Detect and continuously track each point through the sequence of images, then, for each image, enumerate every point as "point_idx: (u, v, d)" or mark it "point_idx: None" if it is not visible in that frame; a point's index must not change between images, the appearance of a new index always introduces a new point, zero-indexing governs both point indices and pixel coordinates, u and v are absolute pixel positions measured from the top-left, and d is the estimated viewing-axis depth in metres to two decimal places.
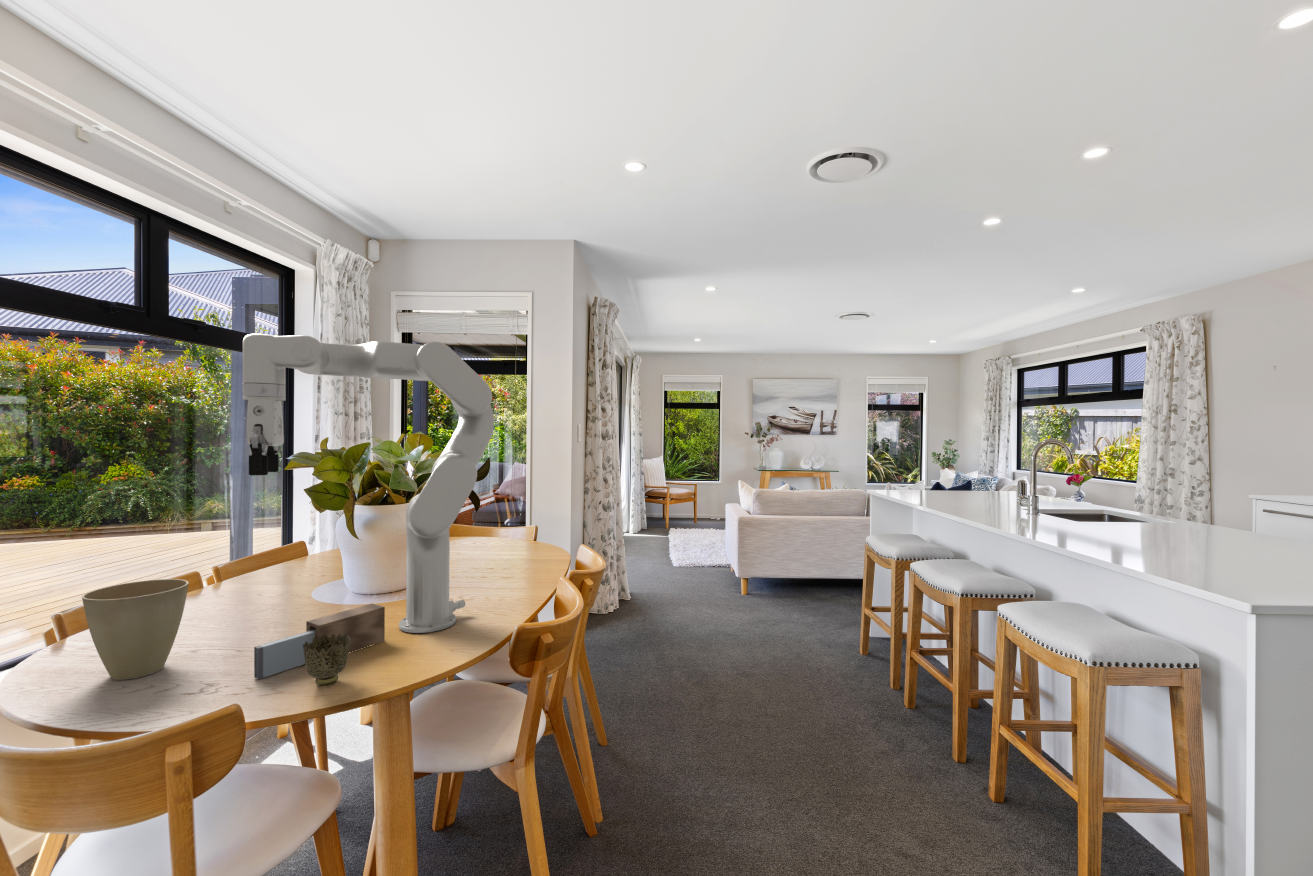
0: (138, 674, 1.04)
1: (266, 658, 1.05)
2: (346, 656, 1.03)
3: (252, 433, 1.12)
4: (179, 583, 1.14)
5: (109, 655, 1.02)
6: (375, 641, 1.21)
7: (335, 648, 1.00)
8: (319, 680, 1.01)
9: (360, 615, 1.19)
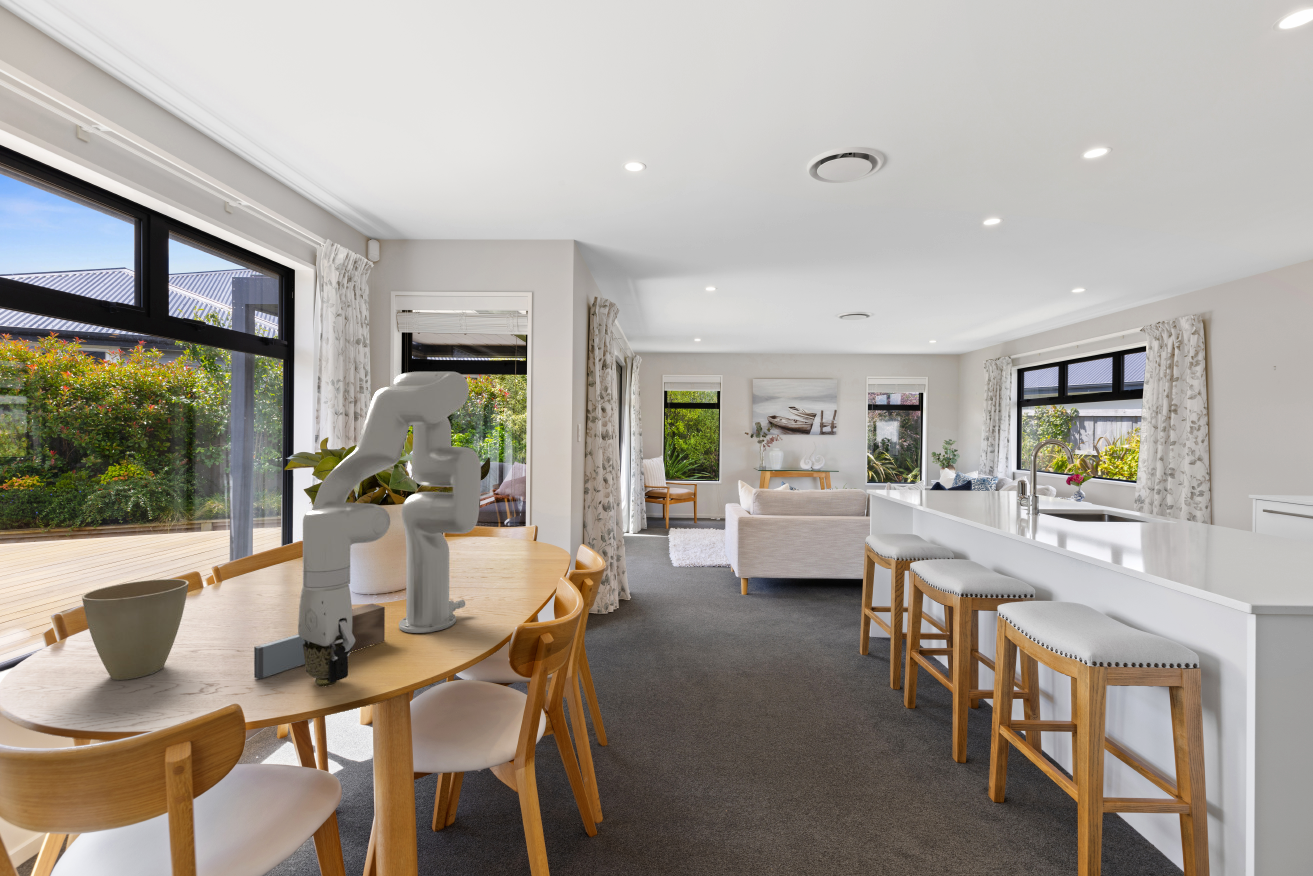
0: (138, 674, 1.04)
1: (266, 658, 1.05)
2: None
3: None
4: (179, 583, 1.14)
5: (109, 655, 1.02)
6: (375, 641, 1.21)
7: None
8: (319, 680, 1.01)
9: (360, 615, 1.19)
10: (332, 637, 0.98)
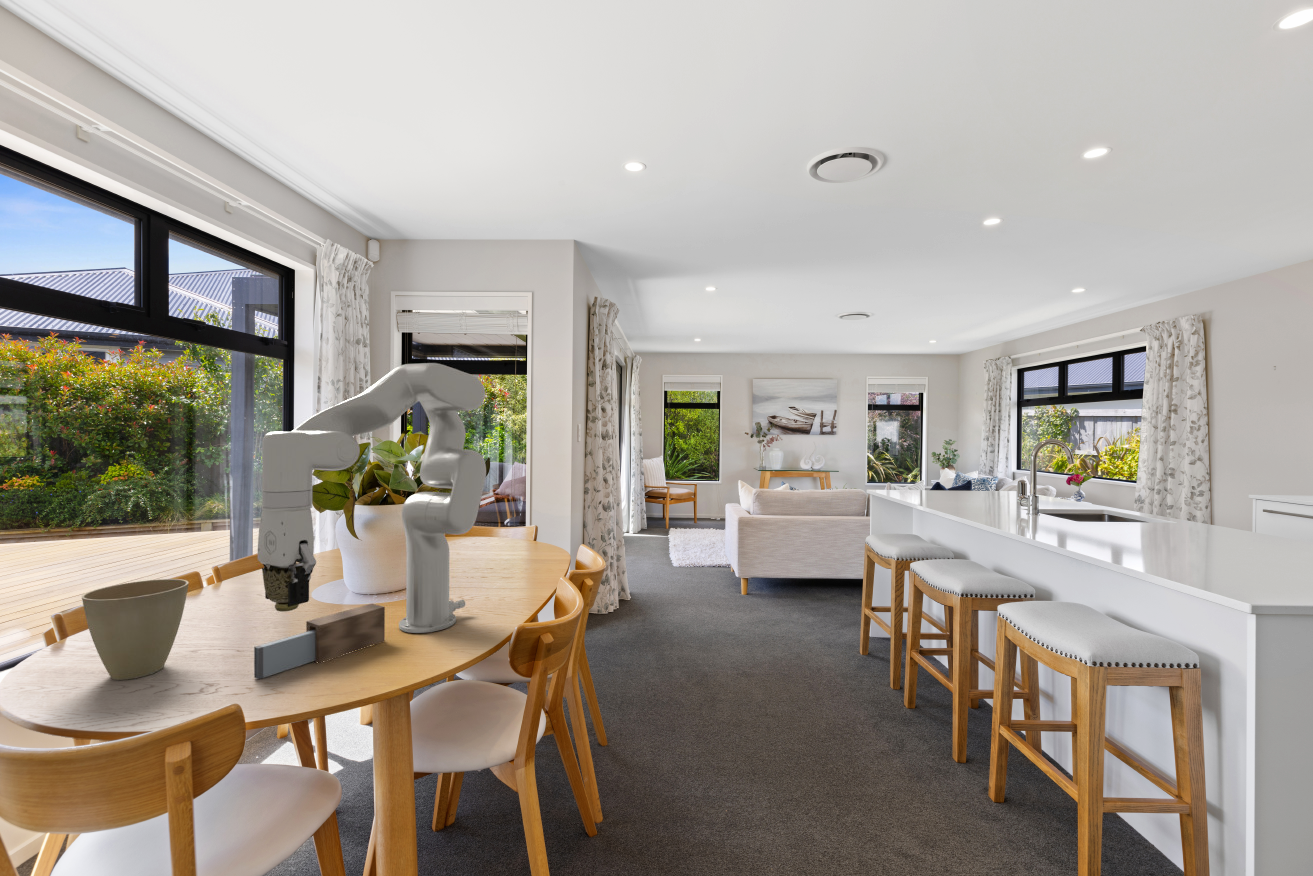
0: (138, 674, 1.04)
1: (266, 658, 1.05)
2: None
3: None
4: (179, 583, 1.14)
5: (109, 655, 1.02)
6: (375, 641, 1.21)
7: None
8: (279, 604, 0.99)
9: (360, 615, 1.19)
10: (292, 558, 0.96)
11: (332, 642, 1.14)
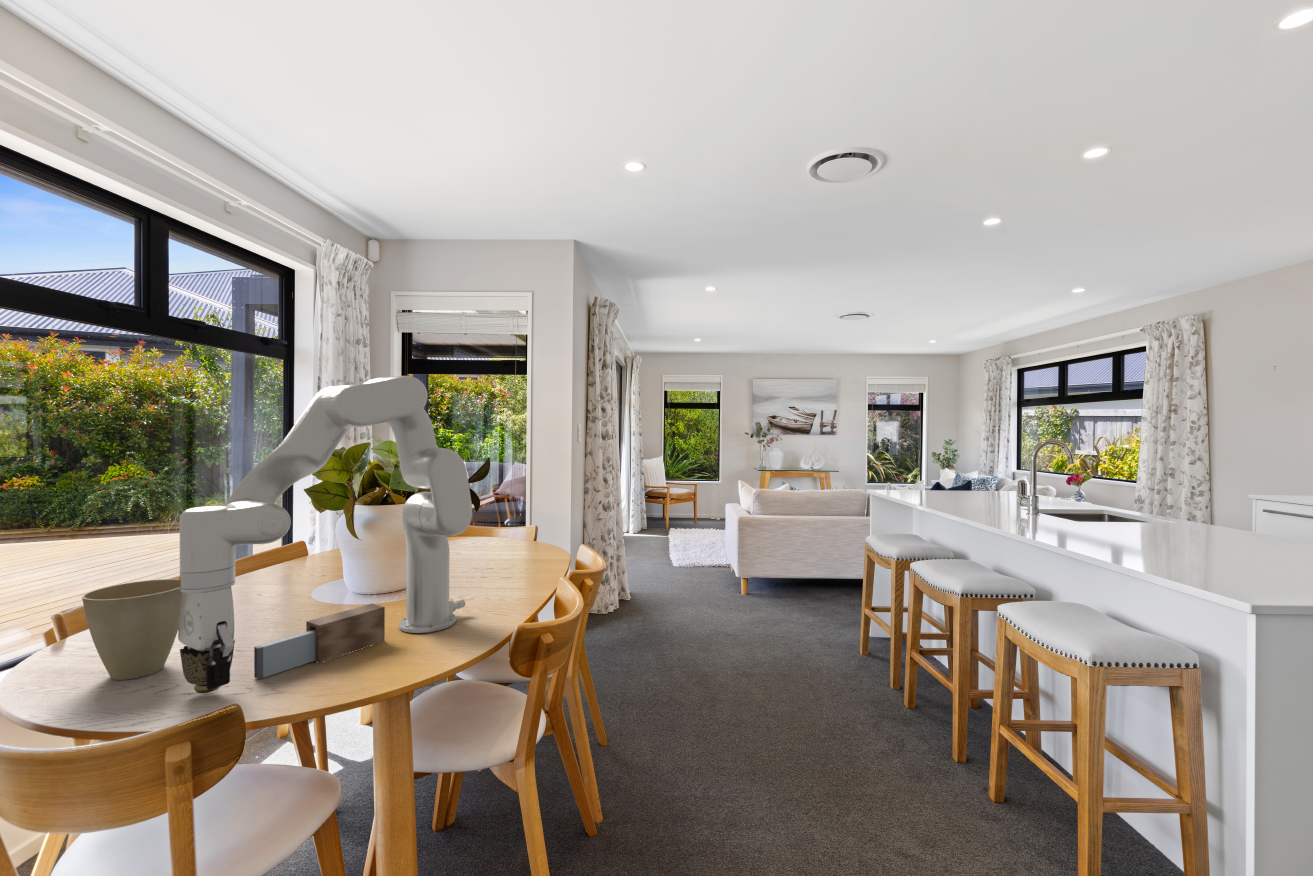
0: (138, 674, 1.04)
1: (266, 658, 1.05)
2: None
3: None
4: (179, 583, 1.14)
5: (109, 655, 1.02)
6: (375, 641, 1.21)
7: None
8: (198, 687, 0.96)
9: (360, 615, 1.19)
10: (208, 641, 0.93)
11: (332, 642, 1.14)
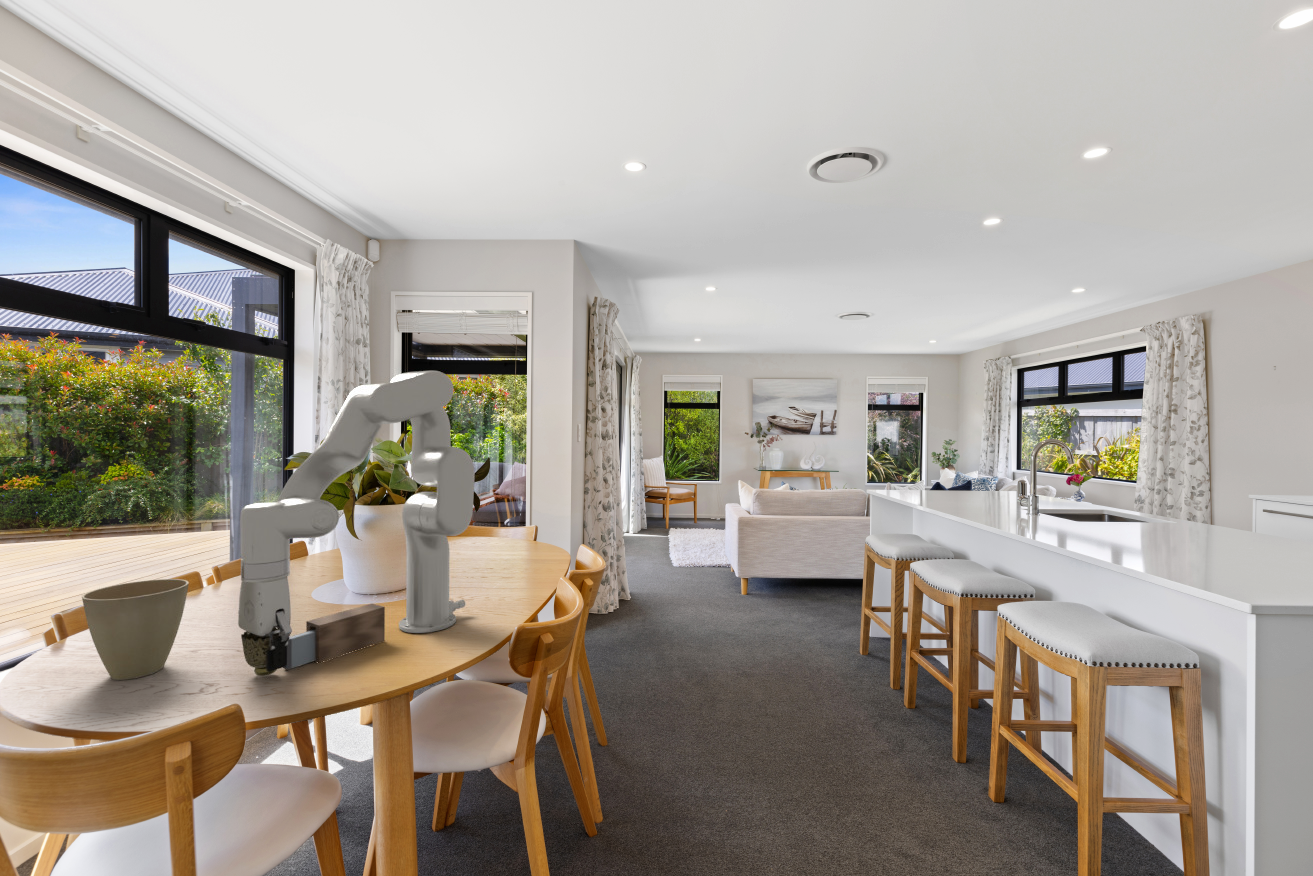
0: (138, 674, 1.04)
1: (294, 649, 1.09)
2: None
3: None
4: (179, 583, 1.14)
5: (109, 655, 1.02)
6: (375, 641, 1.21)
7: None
8: (257, 669, 1.04)
9: (360, 615, 1.19)
10: (269, 627, 1.01)
11: (332, 642, 1.14)
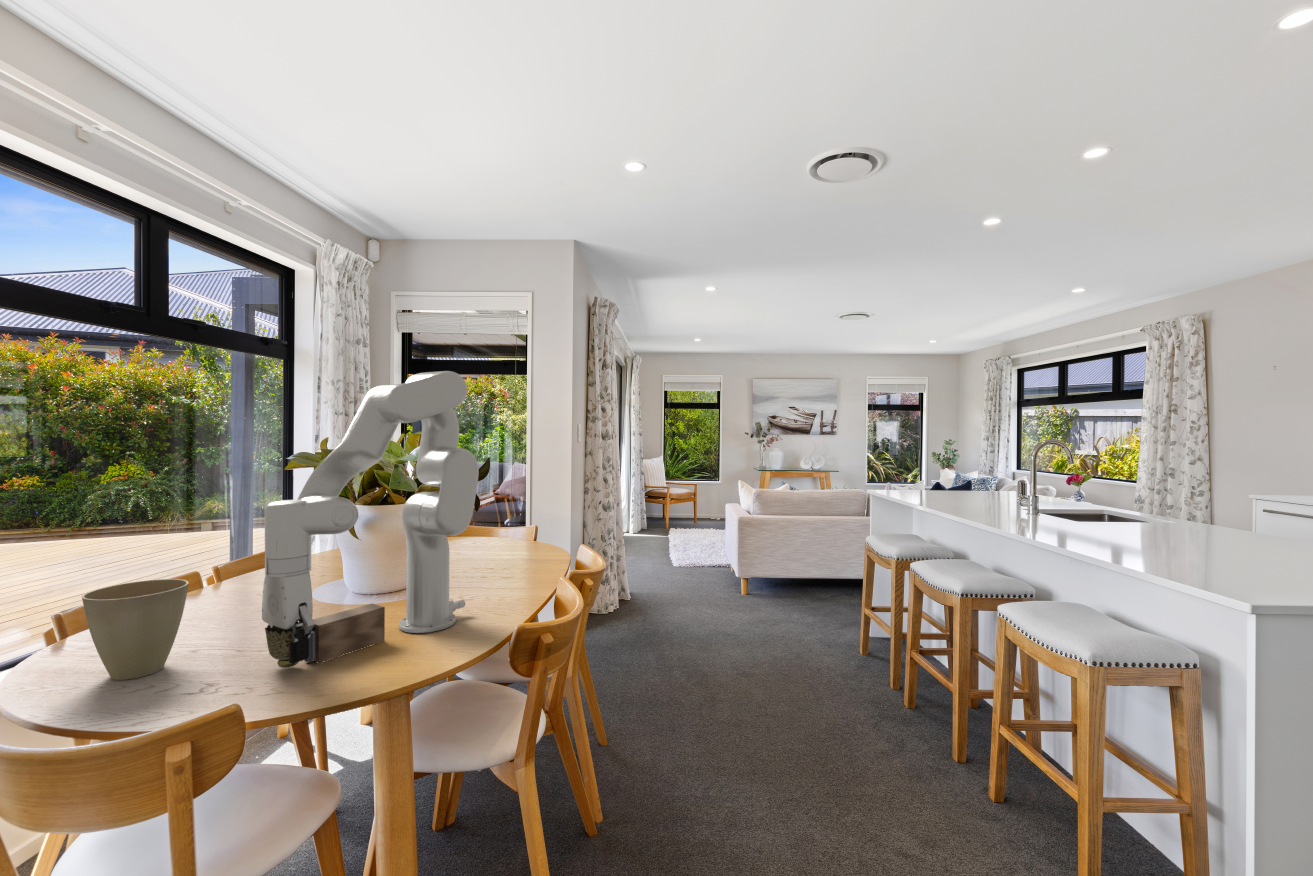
0: (138, 674, 1.04)
1: (315, 643, 1.12)
2: None
3: None
4: (179, 583, 1.14)
5: (109, 655, 1.02)
6: (375, 641, 1.21)
7: None
8: (281, 661, 1.07)
9: (360, 615, 1.19)
10: (292, 620, 1.04)
11: (332, 642, 1.14)
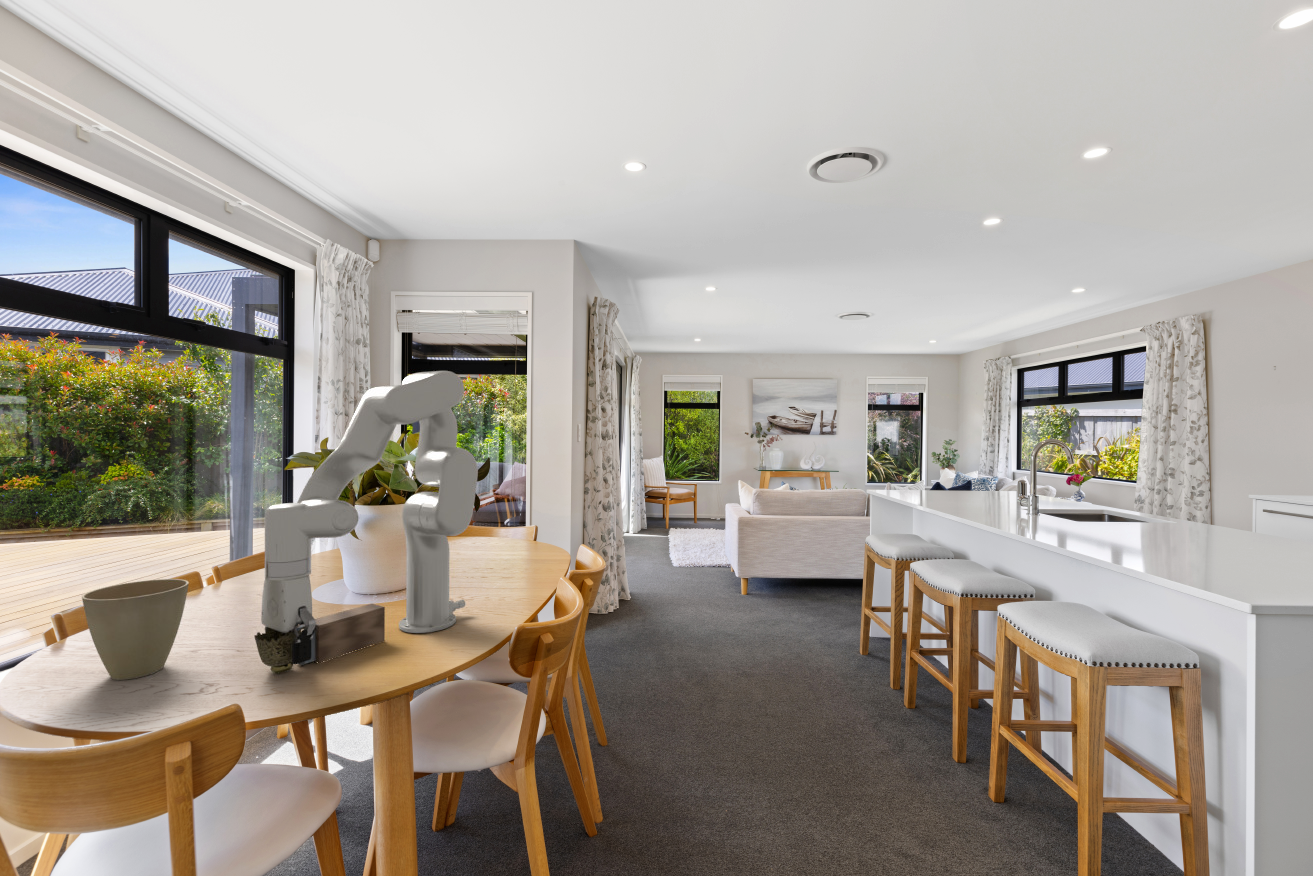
0: (138, 674, 1.04)
1: None
2: None
3: None
4: (179, 583, 1.14)
5: (109, 655, 1.02)
6: (375, 641, 1.21)
7: (285, 638, 1.05)
8: (273, 668, 1.06)
9: (360, 615, 1.19)
10: (292, 624, 1.04)
11: (332, 642, 1.14)
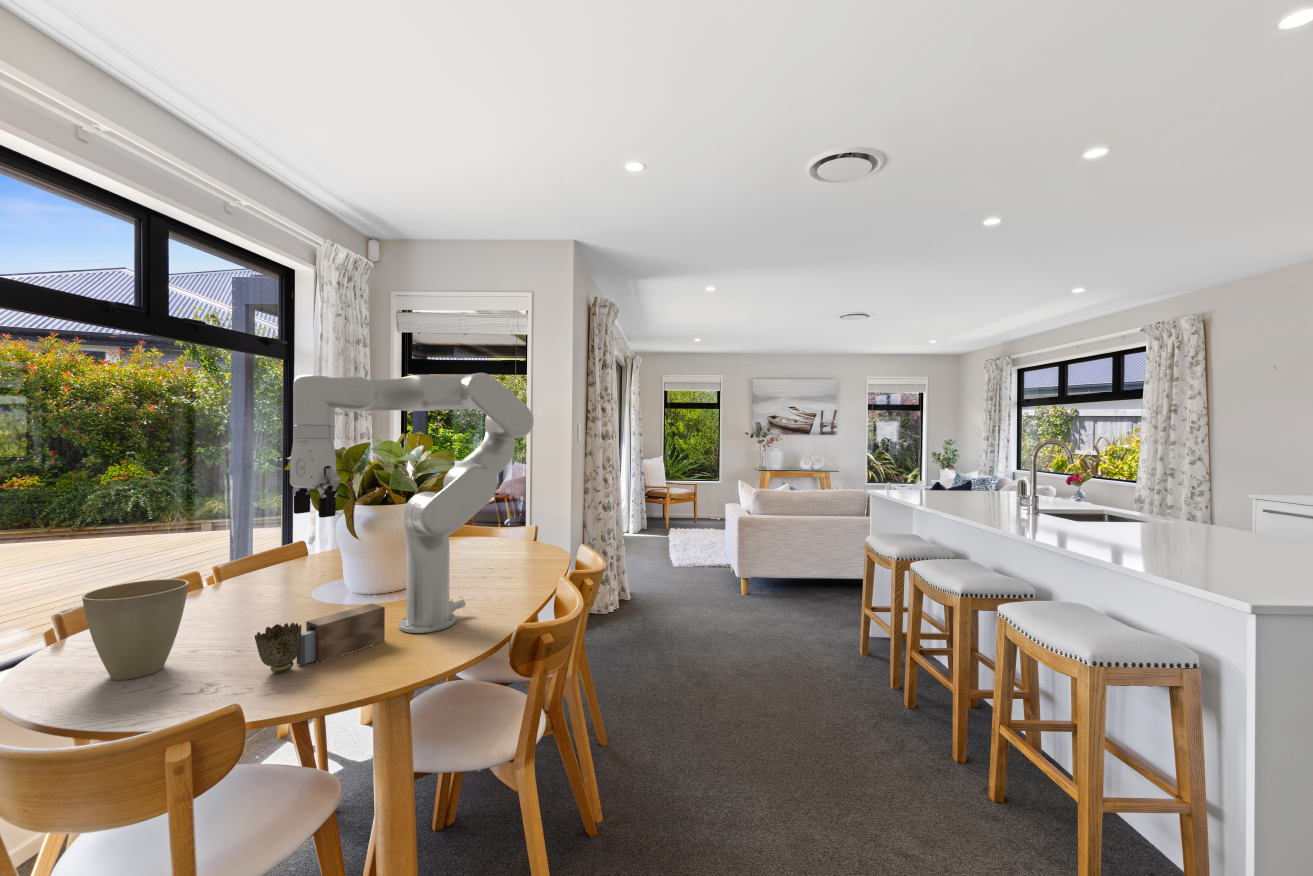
0: (138, 674, 1.04)
1: (307, 645, 1.11)
2: (298, 644, 1.08)
3: None
4: (179, 583, 1.14)
5: (109, 655, 1.02)
6: (375, 641, 1.21)
7: (285, 637, 1.05)
8: (273, 668, 1.06)
9: (360, 615, 1.19)
10: (318, 480, 1.15)
11: (332, 642, 1.14)
